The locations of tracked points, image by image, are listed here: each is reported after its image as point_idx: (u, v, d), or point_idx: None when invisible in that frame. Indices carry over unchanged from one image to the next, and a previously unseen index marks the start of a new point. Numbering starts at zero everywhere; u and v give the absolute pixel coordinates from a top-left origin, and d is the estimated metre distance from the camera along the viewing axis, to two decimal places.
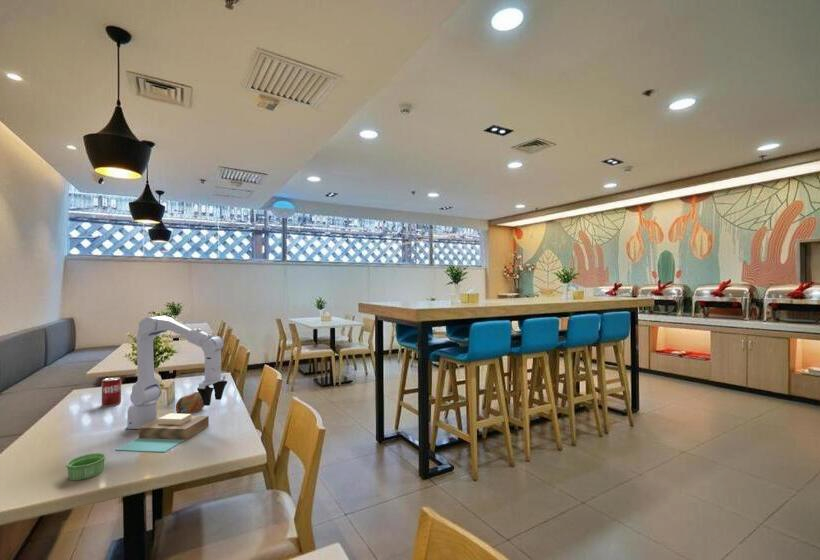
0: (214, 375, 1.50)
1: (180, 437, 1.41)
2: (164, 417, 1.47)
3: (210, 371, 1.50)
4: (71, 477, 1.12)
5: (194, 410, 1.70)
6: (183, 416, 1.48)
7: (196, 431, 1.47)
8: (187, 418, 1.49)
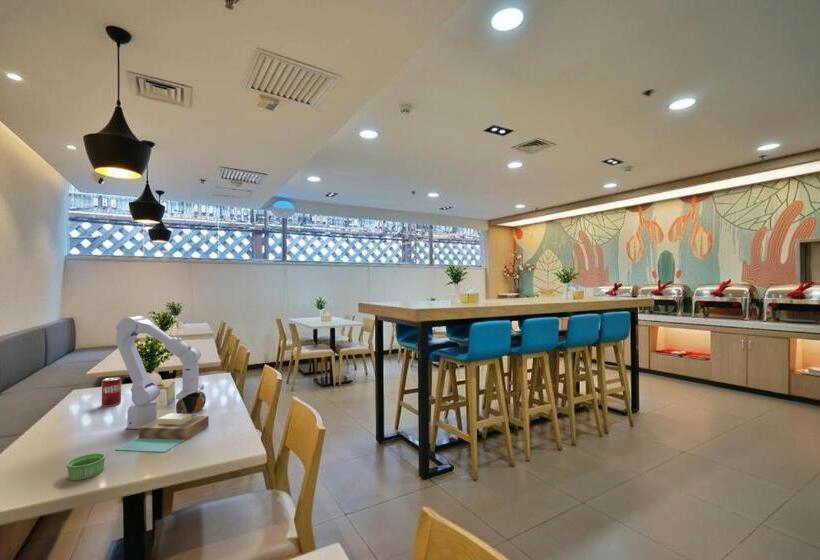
0: (192, 386, 1.55)
1: (180, 437, 1.41)
2: (164, 417, 1.47)
3: (187, 382, 1.55)
4: (71, 477, 1.12)
5: (194, 410, 1.70)
6: (183, 416, 1.48)
7: (196, 431, 1.47)
8: (187, 418, 1.49)
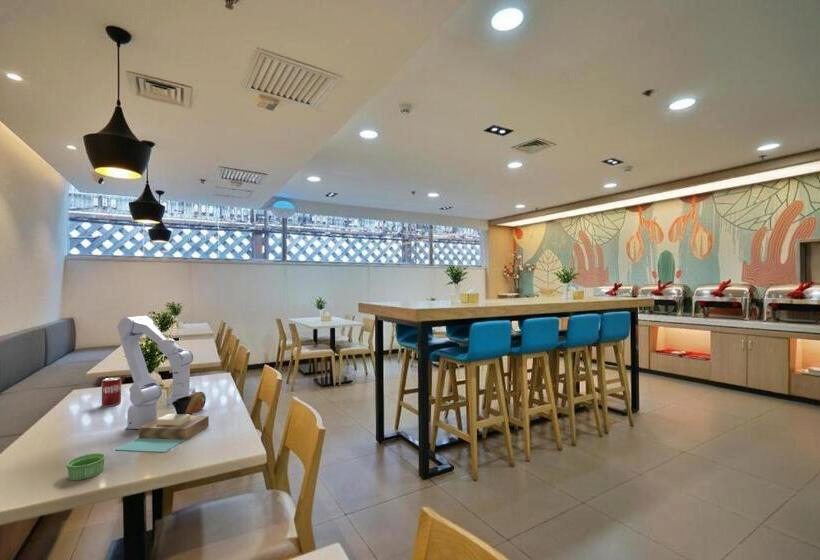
0: (182, 390, 1.50)
1: (180, 437, 1.41)
2: (163, 418, 1.46)
3: (178, 386, 1.49)
4: (71, 477, 1.12)
5: (194, 410, 1.70)
6: (182, 417, 1.48)
7: (196, 431, 1.47)
8: (186, 419, 1.48)
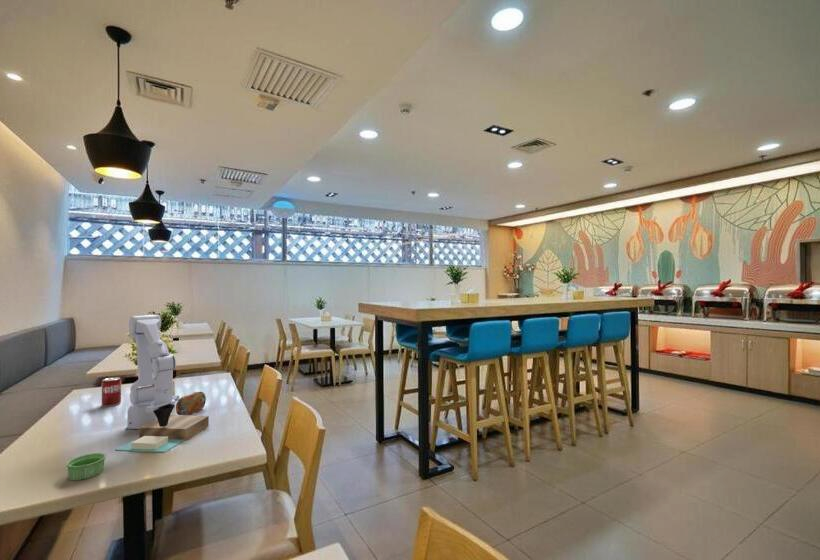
0: (164, 397, 1.40)
1: (180, 437, 1.41)
2: None
3: (160, 393, 1.40)
4: (71, 477, 1.12)
5: (194, 410, 1.70)
6: None
7: (196, 431, 1.47)
8: (160, 443, 1.34)
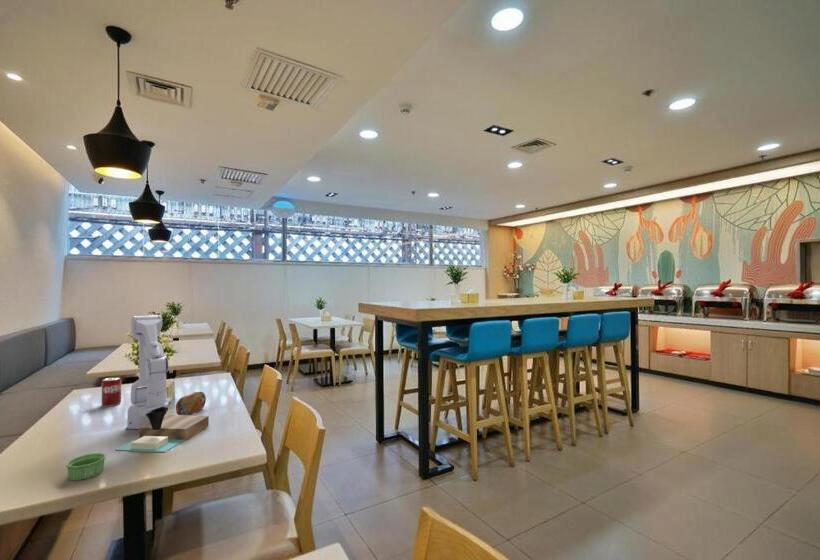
0: (157, 400, 1.37)
1: (180, 437, 1.41)
2: None
3: (152, 395, 1.36)
4: (71, 477, 1.12)
5: (194, 410, 1.70)
6: None
7: (196, 431, 1.47)
8: (160, 443, 1.34)
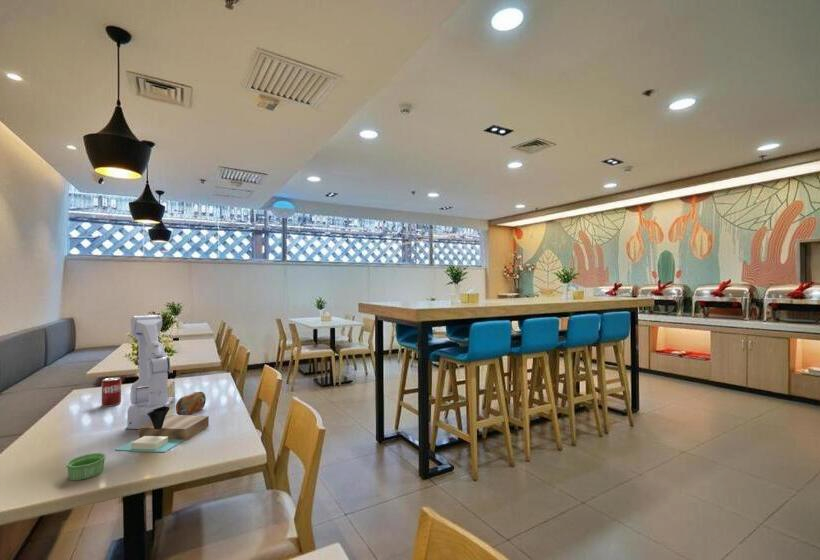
0: (159, 400, 1.38)
1: (180, 437, 1.41)
2: None
3: (154, 395, 1.37)
4: (71, 477, 1.12)
5: (194, 410, 1.70)
6: None
7: (196, 431, 1.47)
8: (160, 443, 1.34)
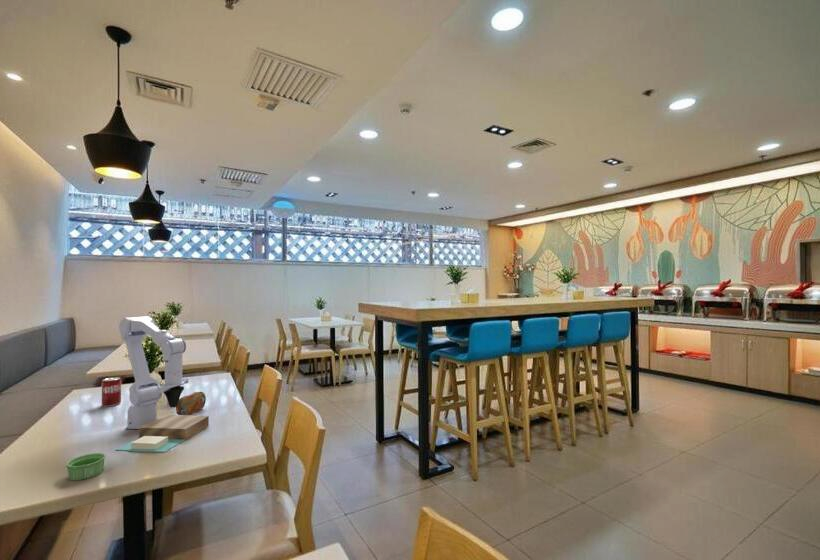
0: (175, 379, 1.45)
1: (180, 437, 1.41)
2: None
3: (170, 375, 1.45)
4: (71, 477, 1.12)
5: (194, 410, 1.70)
6: None
7: (196, 431, 1.47)
8: (160, 443, 1.34)
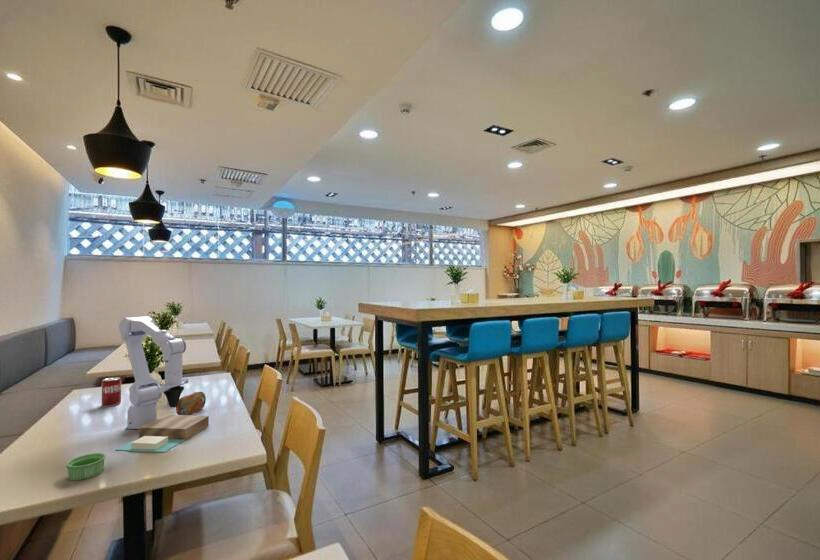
0: (175, 379, 1.45)
1: (180, 437, 1.41)
2: None
3: (170, 375, 1.45)
4: (71, 477, 1.12)
5: (194, 410, 1.70)
6: None
7: (196, 431, 1.47)
8: (160, 443, 1.34)
